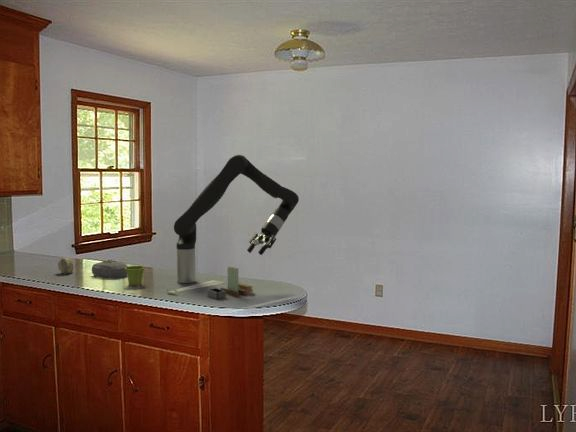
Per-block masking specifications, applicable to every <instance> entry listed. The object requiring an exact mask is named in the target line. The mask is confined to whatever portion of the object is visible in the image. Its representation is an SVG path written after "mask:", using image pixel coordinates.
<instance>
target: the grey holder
mask: <svg viewBox="0 0 576 432" xmlns="http://www.w3.org/2000/svg"><path fill="white" fill-rule="evenodd" d="M206 297H208V298H211V299H213V300H222V299H227V295H226V291H225V290H221V288H217V287H216V288H215V287H213V288H209V289H207V294H206Z"/></svg>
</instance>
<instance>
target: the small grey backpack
mask: <svg viewBox="0 0 576 432" xmlns="http://www.w3.org/2000/svg"><path fill="white" fill-rule="evenodd" d="M126 267H129V266H128V265H127V264H126V263H124V262H120V261H116V260H112V259H111V260H110V259H108V260H102V261H100V262H96V263H94V264H93V265H92V267H91V274H92V275H93V276H95V277H98V278H105V279H112V278H114V279H118V278H123V277H126V276H127V272H126V269H125V268H126ZM127 277H128V276H127Z"/></svg>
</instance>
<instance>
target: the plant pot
mask: <svg viewBox="0 0 576 432" xmlns="http://www.w3.org/2000/svg"><path fill="white" fill-rule="evenodd" d="M125 269H126V272H127V281H128V286H131V287H132V286H140V285H142V284H143V273H144V269H145V266H143V265H131V266H128V267H126V268H125Z"/></svg>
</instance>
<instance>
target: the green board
mask: <svg viewBox="0 0 576 432" xmlns="http://www.w3.org/2000/svg"><path fill="white" fill-rule="evenodd" d="M238 283H239V267H234V266H227V287H228V289H229V290H233V291H236V292H239V286H238Z"/></svg>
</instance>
